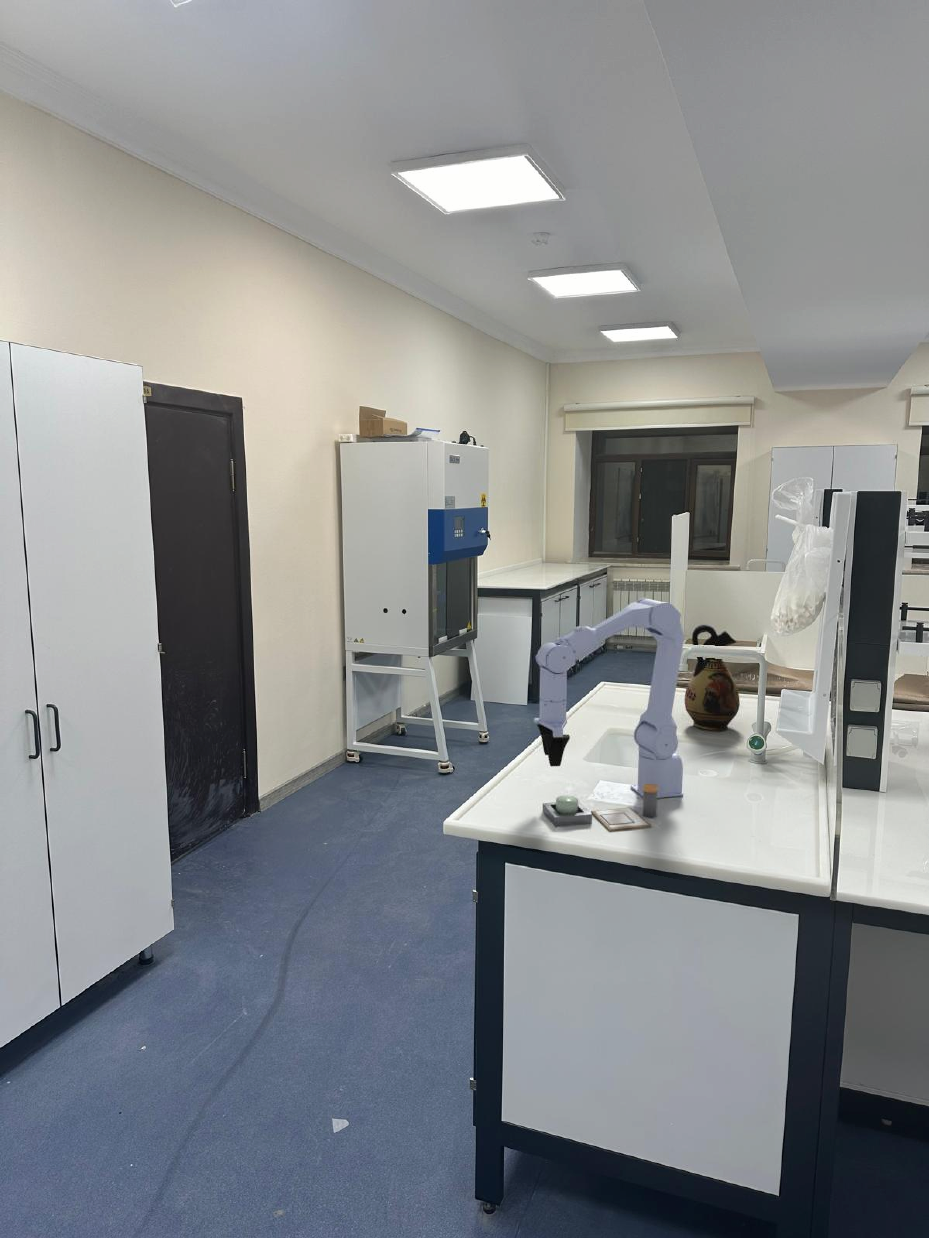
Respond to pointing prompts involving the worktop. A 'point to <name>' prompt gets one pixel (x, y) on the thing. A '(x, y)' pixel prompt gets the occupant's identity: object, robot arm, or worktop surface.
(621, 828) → the wooden framed board
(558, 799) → the button
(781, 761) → the worktop surface
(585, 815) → the button housing
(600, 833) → the worktop surface
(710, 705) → the ceramic jug
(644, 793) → the marker
